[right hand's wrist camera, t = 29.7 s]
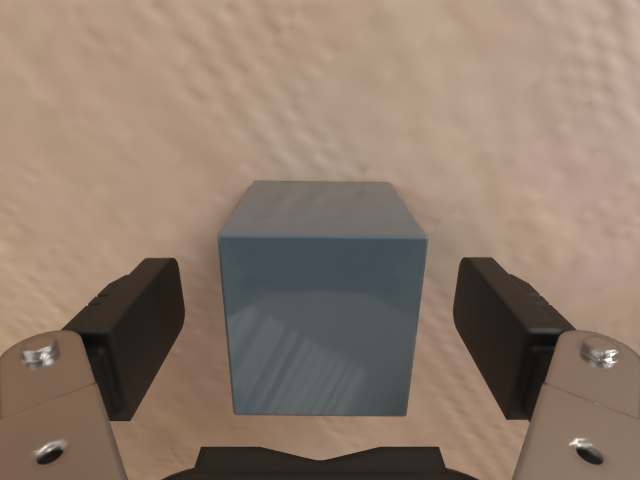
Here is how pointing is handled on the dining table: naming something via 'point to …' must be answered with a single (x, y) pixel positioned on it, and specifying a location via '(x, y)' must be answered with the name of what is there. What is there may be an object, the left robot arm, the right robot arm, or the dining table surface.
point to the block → (321, 298)
